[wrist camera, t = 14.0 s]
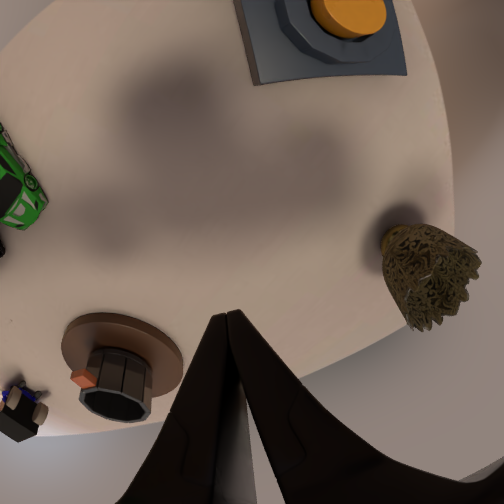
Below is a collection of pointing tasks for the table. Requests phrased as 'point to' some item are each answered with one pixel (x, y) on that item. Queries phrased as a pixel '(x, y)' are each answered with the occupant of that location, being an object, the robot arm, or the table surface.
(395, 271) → the cup
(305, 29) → the button box
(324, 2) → the button
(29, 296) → the table surface
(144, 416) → the black faceted container
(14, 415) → the figurine character
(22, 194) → the toy car
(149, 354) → the turntable
